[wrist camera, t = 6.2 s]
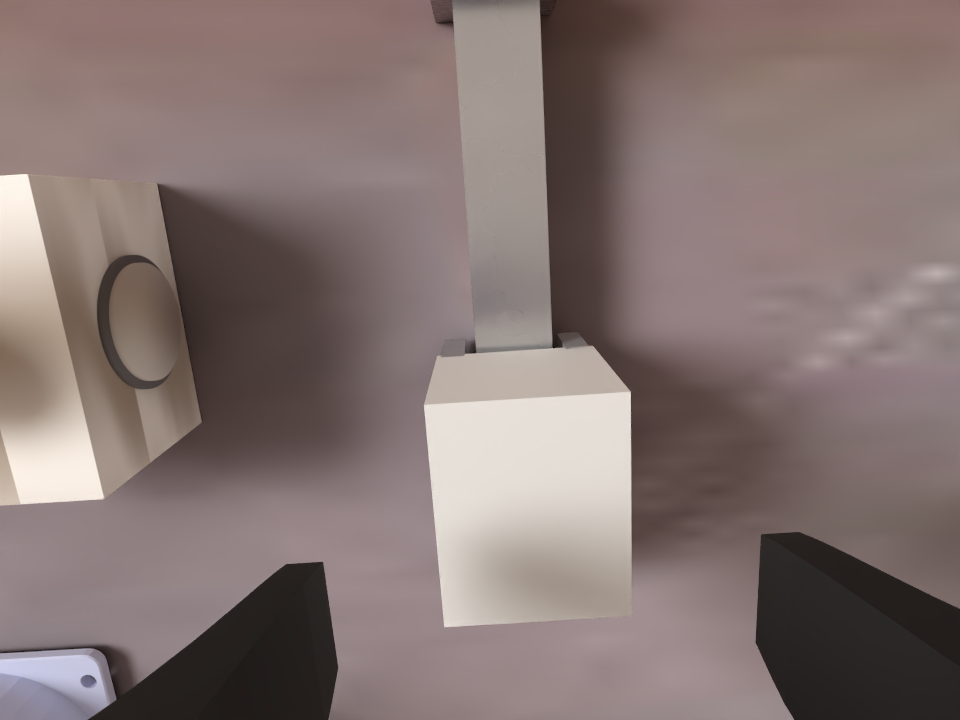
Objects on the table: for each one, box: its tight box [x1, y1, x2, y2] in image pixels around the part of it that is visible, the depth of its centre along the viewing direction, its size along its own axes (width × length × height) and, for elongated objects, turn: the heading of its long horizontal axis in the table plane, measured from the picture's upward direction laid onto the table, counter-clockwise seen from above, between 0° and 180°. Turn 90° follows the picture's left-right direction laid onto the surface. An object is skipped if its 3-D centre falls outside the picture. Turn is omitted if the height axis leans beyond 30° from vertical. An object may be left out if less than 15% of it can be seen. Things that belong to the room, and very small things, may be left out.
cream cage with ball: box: [0, 174, 202, 505], centre depth 15 cm, size 7×7×5 cm
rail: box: [431, 0, 556, 353], centre depth 16 cm, size 16×3×3 cm, turn 4°
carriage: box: [424, 332, 632, 627], centre depth 15 cm, size 5×4×6 cm
